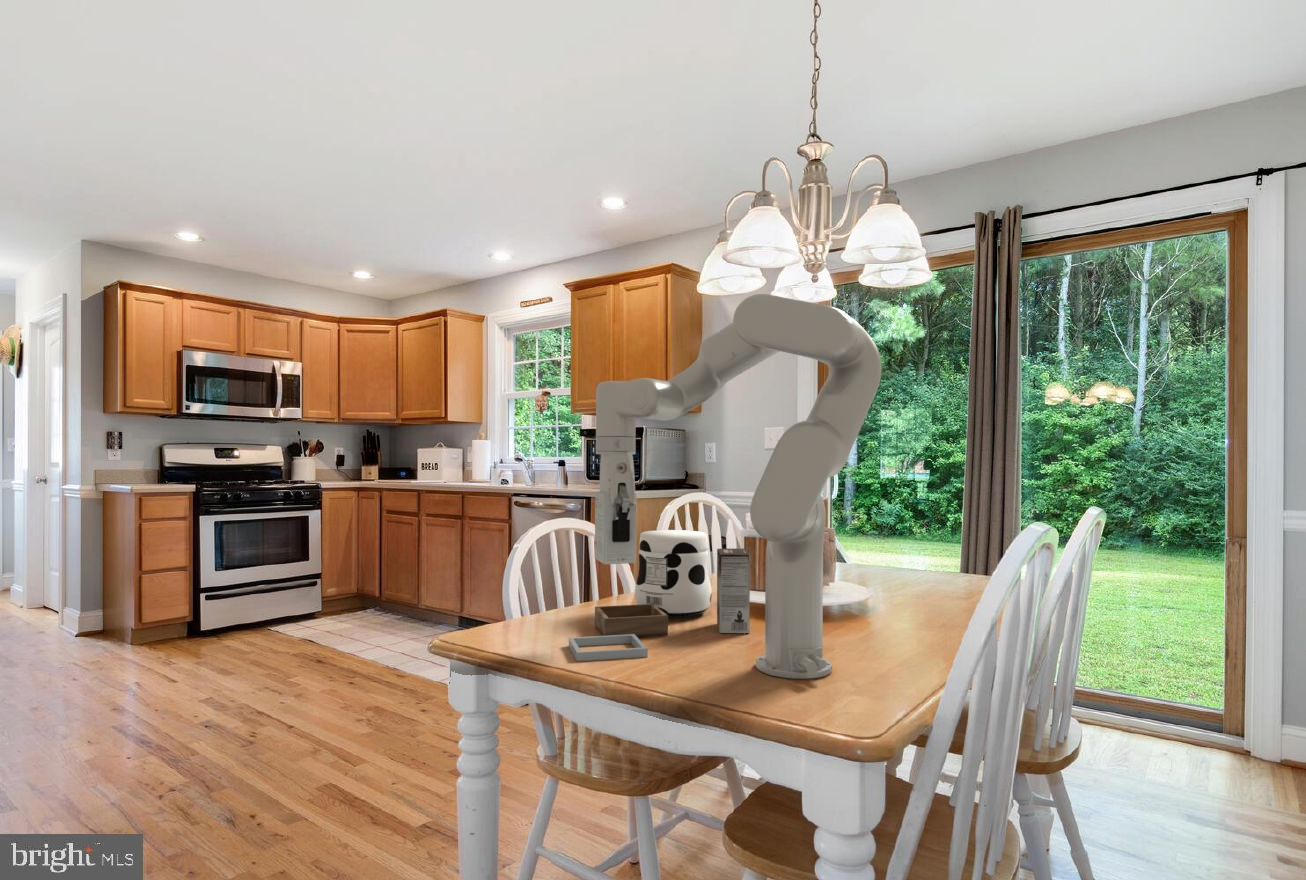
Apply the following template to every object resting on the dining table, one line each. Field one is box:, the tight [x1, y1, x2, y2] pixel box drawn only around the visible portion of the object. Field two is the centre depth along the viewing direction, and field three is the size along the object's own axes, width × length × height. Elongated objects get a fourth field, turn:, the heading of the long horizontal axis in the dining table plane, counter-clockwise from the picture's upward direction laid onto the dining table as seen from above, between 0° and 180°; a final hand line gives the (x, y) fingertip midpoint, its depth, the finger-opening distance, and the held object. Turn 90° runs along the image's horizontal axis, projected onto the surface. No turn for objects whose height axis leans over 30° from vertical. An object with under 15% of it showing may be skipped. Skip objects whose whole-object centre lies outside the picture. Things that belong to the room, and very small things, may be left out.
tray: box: [568, 634, 649, 662], centre depth 135 cm, size 11×13×2 cm
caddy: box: [594, 604, 669, 639], centre depth 151 cm, size 12×13×4 cm
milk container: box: [634, 529, 713, 618], centre depth 168 cm, size 17×17×18 cm
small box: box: [594, 491, 637, 565], centre depth 140 cm, size 8×6×13 cm
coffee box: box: [716, 548, 751, 635], centre depth 153 cm, size 9×6×16 cm
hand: (615, 538), depth 140 cm, fingers closed on small box, 8 cm apart
